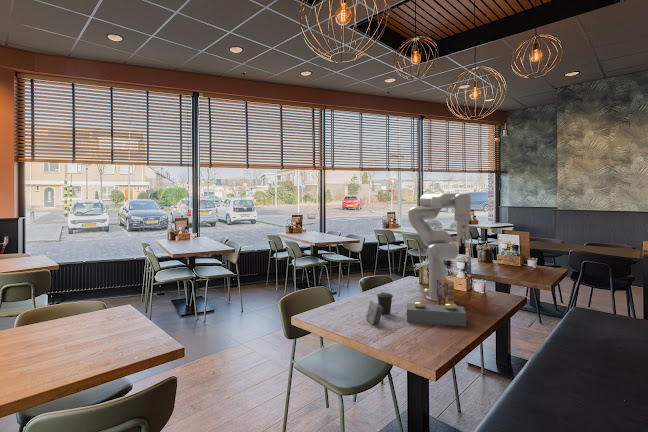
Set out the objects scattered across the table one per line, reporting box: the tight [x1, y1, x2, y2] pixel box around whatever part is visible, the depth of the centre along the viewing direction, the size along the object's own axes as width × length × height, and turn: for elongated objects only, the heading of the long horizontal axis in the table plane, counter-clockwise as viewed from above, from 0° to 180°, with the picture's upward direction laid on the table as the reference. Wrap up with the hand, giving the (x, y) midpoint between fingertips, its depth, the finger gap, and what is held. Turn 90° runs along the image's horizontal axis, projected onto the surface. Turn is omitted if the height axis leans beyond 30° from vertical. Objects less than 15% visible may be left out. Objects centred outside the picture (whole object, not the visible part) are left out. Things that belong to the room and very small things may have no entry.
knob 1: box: [414, 300, 426, 308], centre depth 171 cm, size 5×5×6 cm
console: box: [406, 302, 467, 327], centre depth 169 cm, size 26×10×6 cm, turn 76°
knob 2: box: [445, 303, 458, 310], centre depth 167 cm, size 5×5×6 cm
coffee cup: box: [376, 292, 394, 316], centre depth 181 cm, size 8×8×10 cm
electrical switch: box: [365, 300, 383, 326], centre depth 169 cm, size 9×5×9 cm, turn 10°
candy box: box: [436, 278, 455, 305], centre depth 186 cm, size 9×4×15 cm, turn 20°
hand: (462, 254), depth 182 cm, fingers closed
